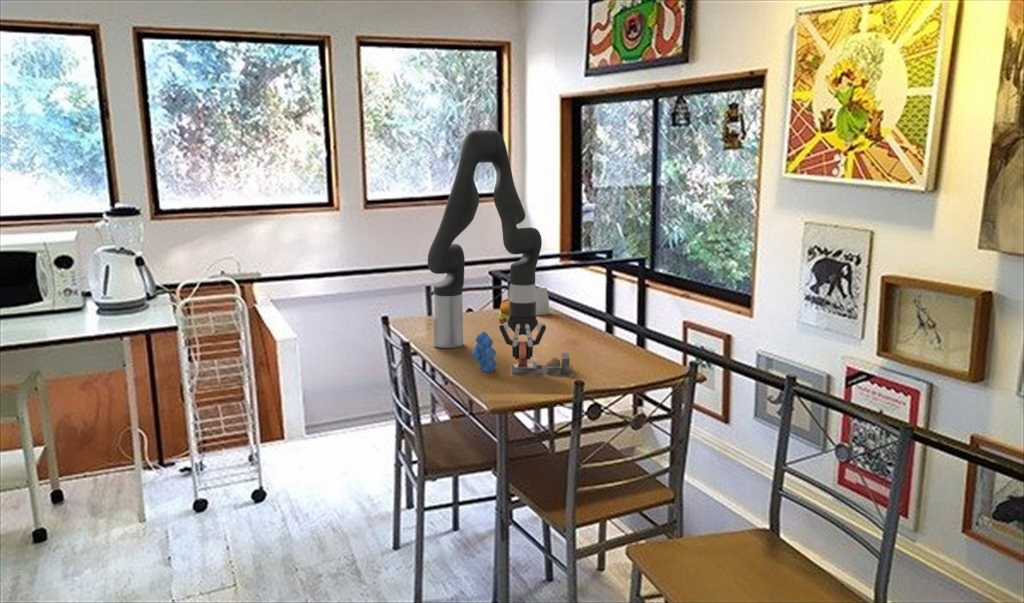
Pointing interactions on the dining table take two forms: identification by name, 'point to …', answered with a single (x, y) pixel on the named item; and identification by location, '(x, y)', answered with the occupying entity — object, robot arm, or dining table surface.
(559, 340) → the dining table surface
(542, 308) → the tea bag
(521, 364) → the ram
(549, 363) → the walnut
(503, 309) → the cheeseburger
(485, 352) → the grapes
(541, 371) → the base
